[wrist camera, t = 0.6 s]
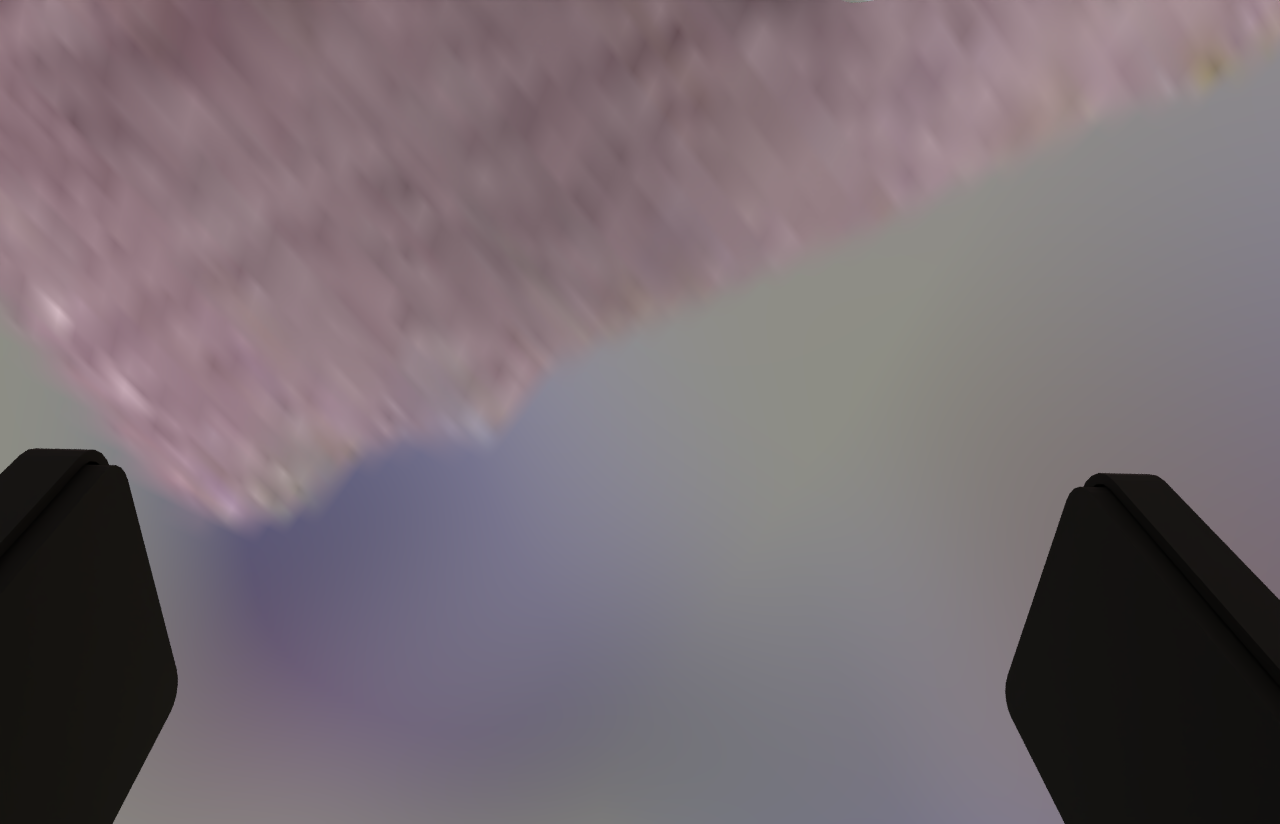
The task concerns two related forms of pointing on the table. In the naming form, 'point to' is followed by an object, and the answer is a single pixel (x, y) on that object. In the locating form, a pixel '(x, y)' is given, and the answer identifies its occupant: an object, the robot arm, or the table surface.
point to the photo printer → (856, 0)
